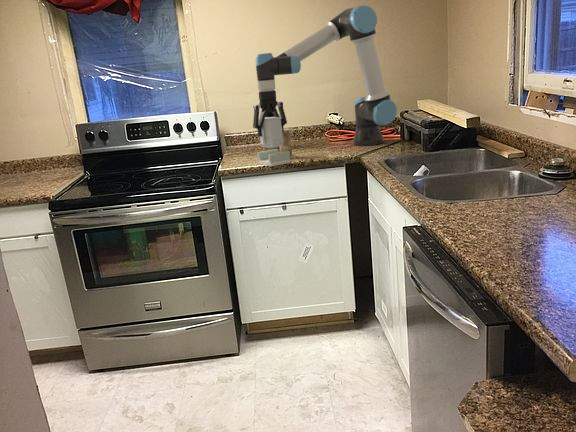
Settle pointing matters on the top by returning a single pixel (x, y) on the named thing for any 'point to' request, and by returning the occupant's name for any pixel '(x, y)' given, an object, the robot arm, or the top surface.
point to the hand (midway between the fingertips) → (271, 142)
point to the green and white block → (273, 157)
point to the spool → (287, 143)
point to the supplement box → (272, 132)
